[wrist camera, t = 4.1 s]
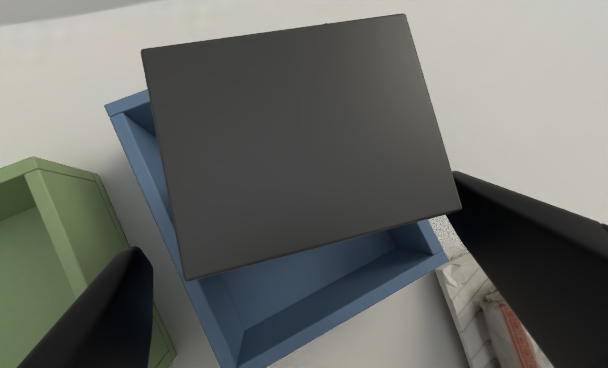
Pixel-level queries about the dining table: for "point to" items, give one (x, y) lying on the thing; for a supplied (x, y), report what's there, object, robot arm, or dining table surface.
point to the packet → (295, 140)
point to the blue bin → (276, 267)
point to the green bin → (54, 253)
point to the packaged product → (486, 319)
